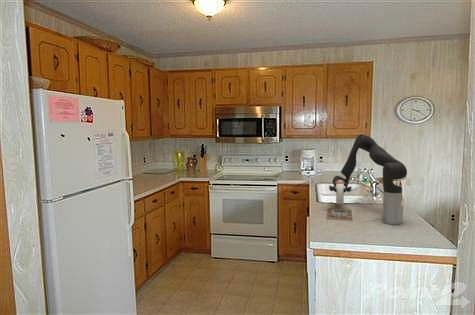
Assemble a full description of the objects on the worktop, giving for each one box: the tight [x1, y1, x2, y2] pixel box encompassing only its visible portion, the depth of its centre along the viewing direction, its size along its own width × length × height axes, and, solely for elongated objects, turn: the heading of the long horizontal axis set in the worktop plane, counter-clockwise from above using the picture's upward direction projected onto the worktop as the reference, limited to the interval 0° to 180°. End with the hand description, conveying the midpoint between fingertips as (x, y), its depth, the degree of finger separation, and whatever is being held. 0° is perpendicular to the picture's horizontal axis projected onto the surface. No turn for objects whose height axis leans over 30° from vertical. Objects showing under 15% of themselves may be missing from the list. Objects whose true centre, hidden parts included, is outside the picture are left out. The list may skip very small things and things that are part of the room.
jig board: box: [325, 207, 353, 222], centre depth 191 cm, size 26×14×1 cm, turn 162°
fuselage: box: [335, 180, 345, 205], centre depth 194 cm, size 4×4×14 cm
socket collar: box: [332, 208, 347, 218], centre depth 187 cm, size 8×8×3 cm
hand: (340, 190), depth 191 cm, fingers closed on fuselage, 4 cm apart
